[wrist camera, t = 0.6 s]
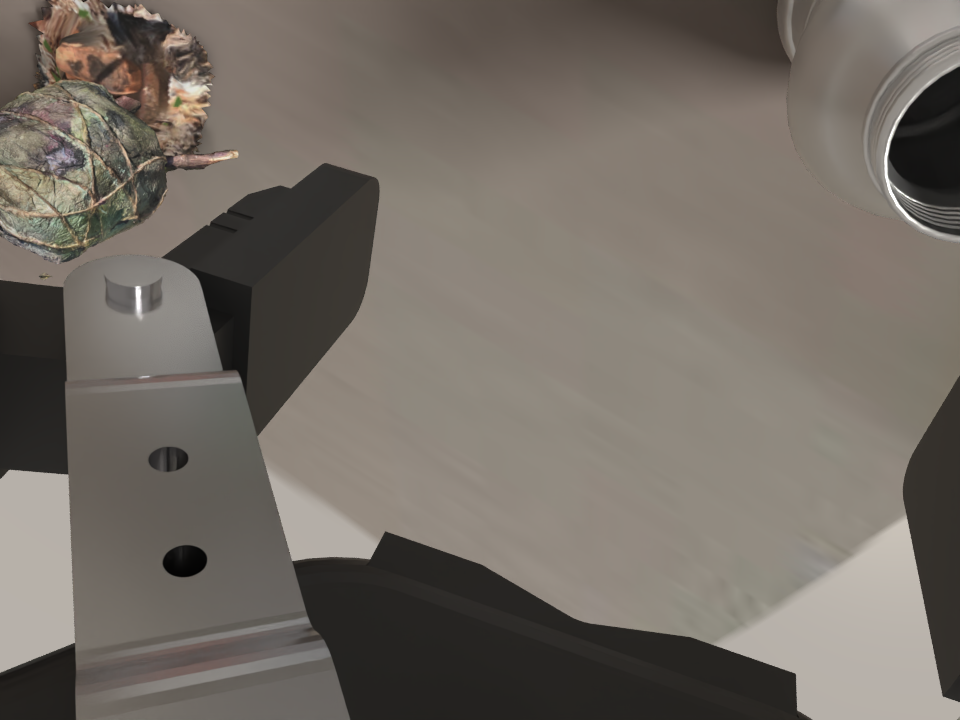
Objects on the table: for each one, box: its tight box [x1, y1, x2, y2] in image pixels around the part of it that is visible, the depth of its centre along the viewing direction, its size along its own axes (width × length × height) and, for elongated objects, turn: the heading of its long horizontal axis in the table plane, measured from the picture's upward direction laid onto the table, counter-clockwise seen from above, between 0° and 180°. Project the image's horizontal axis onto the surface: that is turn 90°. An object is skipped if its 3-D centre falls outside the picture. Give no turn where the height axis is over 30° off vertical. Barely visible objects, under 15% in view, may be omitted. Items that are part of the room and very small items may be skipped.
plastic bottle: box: [777, 0, 960, 243], centre depth 24 cm, size 6×7×20 cm
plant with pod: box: [0, 0, 239, 280], centre depth 34 cm, size 8×11×20 cm
